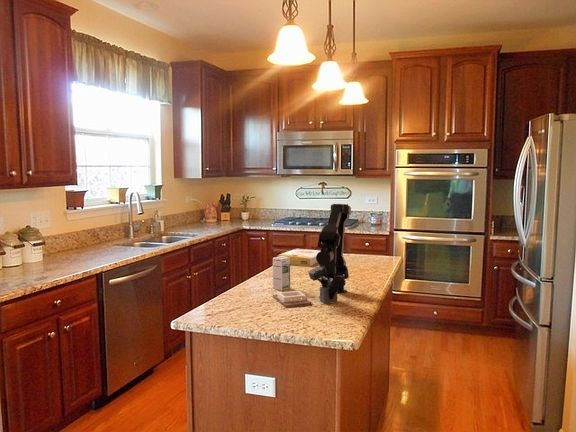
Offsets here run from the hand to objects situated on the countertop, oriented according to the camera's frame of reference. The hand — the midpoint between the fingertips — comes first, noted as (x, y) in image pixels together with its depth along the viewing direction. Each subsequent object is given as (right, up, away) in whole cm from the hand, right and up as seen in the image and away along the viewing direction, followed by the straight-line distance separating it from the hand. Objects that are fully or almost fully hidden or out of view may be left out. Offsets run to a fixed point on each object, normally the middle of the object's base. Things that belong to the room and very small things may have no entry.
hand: (328, 298), depth 192 cm
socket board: (-15, -1, +1) cm, 15 cm away
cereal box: (-8, +6, +87) cm, 87 cm away
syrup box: (-20, 0, +22) cm, 29 cm away
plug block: (0, -2, 0) cm, 2 cm away
